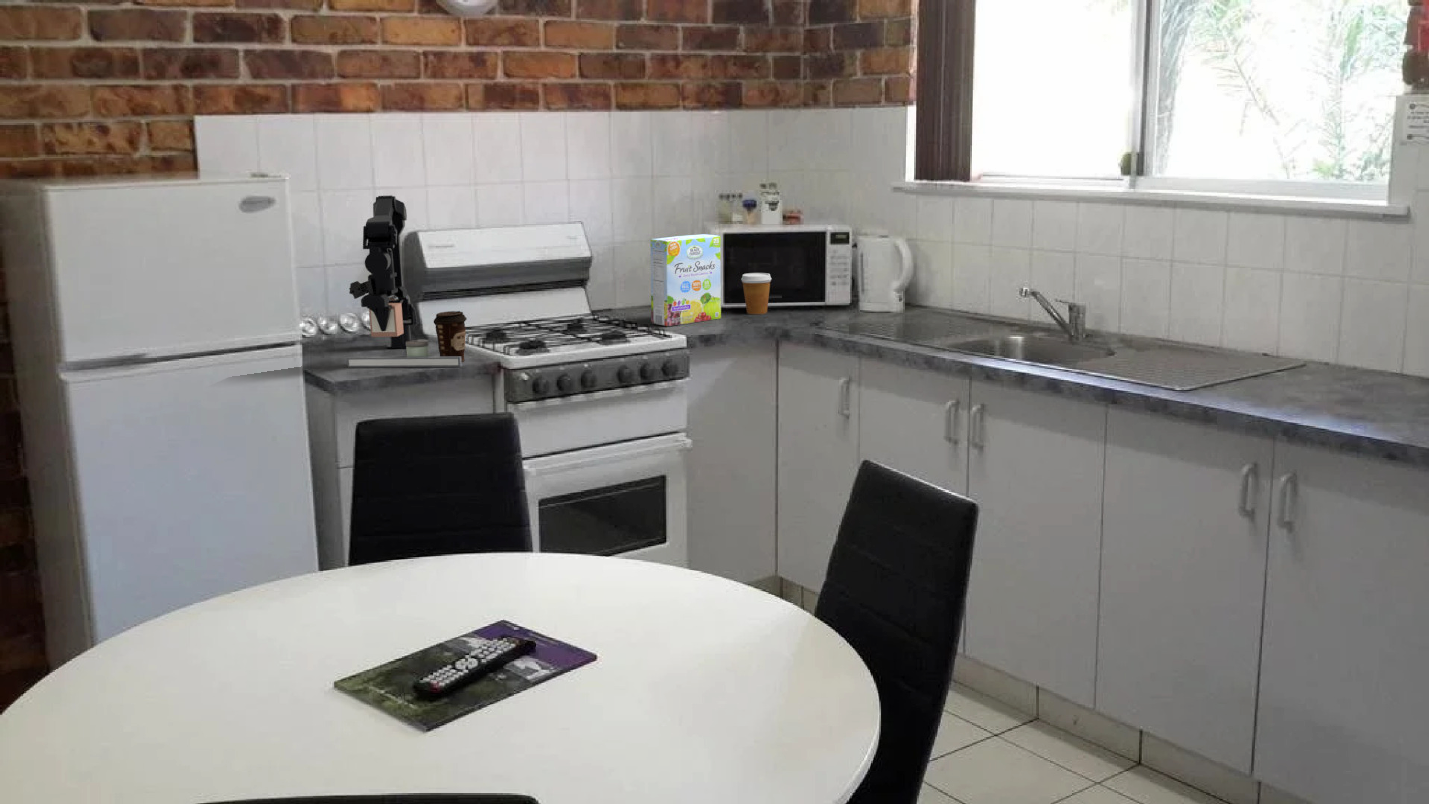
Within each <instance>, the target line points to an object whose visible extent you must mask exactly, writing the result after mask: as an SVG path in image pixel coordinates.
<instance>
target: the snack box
mask: <svg viewBox="0 0 1429 804" xmlns="http://www.w3.org/2000/svg"><path fill="white" fill-rule="evenodd" d="M721 239H722V238H721V236H720V235H717V234H706V233H703V234H689V235H677V236H676V235H675V236H670V237H660V238H651V239H650V304H651V305H650V306H651V307H650V308H651V309H650V310H651V311H650V315H651V324H653V325H659V326H663V327H671V326H672V327H673V326H679V325H687V324H693V323H699V322H701V323H702V322H706V321H713V320H719V319H720V320H721V319H722V302H721V301H722V300H721V299H722V295H721V294H722V293H721V292H722V291H721V290H722V289H721V285H722V282H721V281H722V279H721V277H722V276H721V273H722V271H721V264H722V263H721V259H722V258H721V257H722V255H721V254H722V253H721V243H722V241H721Z"/></svg>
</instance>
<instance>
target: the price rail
mask: <svg viewBox="0 0 1429 804" xmlns="http://www.w3.org/2000/svg"><path fill="white" fill-rule="evenodd" d="M346 362H347V368H461V367H463V362H462V360H461V356H442V357H440V356H429V357H407V356H348V357H347V358H346Z"/></svg>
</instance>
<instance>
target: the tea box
mask: <svg viewBox="0 0 1429 804" xmlns="http://www.w3.org/2000/svg"><path fill="white" fill-rule="evenodd" d="M388 305H392V307H391V312H390V316H389V320H388V324H387V328H386V331H381V329H380V326H379V324H378V321H377V319H376V316H375V314H374V312H373V311H372V310H370V309H368V313H369V326H370V336H371V338H373V337H374V338H379V337H380V338H382V337H386V338H387V337H388V338H390V337H397V336H399V335H401V334H403V333H404V331H403V318H402V305H401V303H389V304H388Z"/></svg>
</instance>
